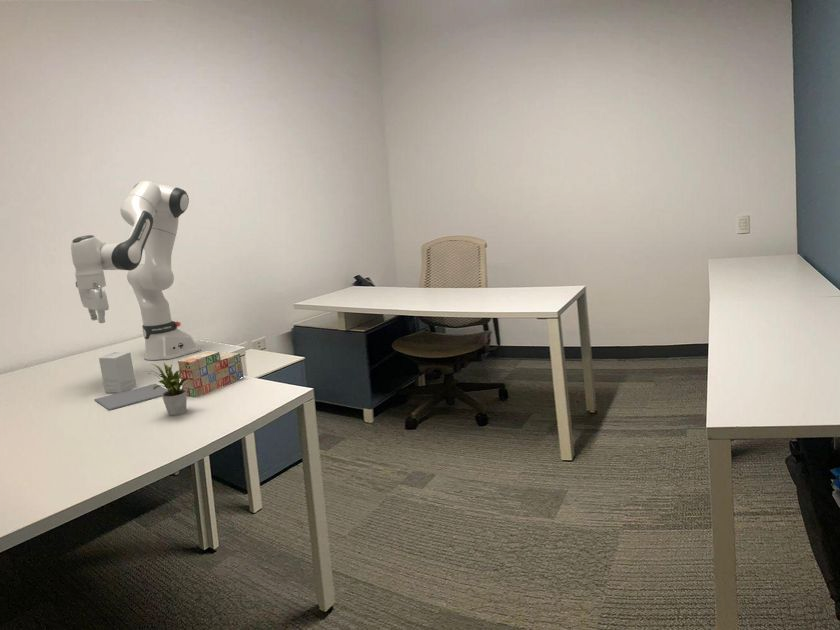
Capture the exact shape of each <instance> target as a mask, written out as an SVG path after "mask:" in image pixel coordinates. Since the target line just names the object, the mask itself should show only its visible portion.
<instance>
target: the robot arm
mask: <svg viewBox="0 0 840 630" xmlns="http://www.w3.org/2000/svg"><path fill="white" fill-rule="evenodd" d="M189 198H190V197H189V194H188V193H187V192H186V191H185V190H184V189H182V188H180V187H174V186H171V185H167V184H163V183H161V184H160V183H155V182H153V181H150V180H142V181H140V182H138V183H136V184H135V185H134V186H133V187H132V189H131V190H130V192H128V194H127V196H125V198H124V200H123V202H122V203H121V206H120V210H119V211H120V215H121V217H122V219H123V220H124V222H126V223H127V224H129V226H130V227H132V228H131V231H130V233H129V235H128V237H127V238H126V239H125V240H123V241H120V242H106V241H102V240H101V239H98V238H97V237H96V236H95V235H91V234H89V235H84V236H83V235H82V236H78V237H75V238H74V239H73V240H72V241H71V245H70V250H71V253H70V254H71V259H72V264H73V265H74V268H75V273H74V274H75V276H74V277H75V287H76V288H77V289H78V294H79V296H80V298H79V299H80V300H81V301H80V302H81V304H82V306H83V307H84V308H86V309H87V311H88V313H89V315H90V320H91V321H98V323H99V324H104V323H106V319H105V318H106V317H105V315H106V312H105V311H109V308H110V307H109V306H110V305H109V302H108V297H107V296H108V295H107V292H106V290H105V289H104V287H106V286H107V284H106V276H105V272H104V271H119V270H120V271H121V270H122V271H127V274H126V278H127V282H128V284H129V285H131V288H132V290H133V292H134V294H135V297H136V299H137V302H138V304H139V309H140V313H141V319H142V335H143V337H144V340H145V341H144V342H145V343H144V344H145V345H144V346H145V349H144V352H145V353H144V359H145V360H146V361H155V360H172V359H175V358H179V357H182V356H185V355H186V356H187V355H189V354H192V353H197V352H200V351H202V348H201V346H199V345H197V344H196V343H195V341H194V339H193V337H192V335H190V334H188V333H186V332H185V331H182V330H180V329H178V328H179V327H180V326H181V322H180V321H173V320H172V315H171V310H170V309H171V308H170V304H169V301H168V300H167V299H166V297H165V296H164V293H163V291H164V290H168V289H169V288H171V287H172V285H173V284H174V280H175V276H174V275H175V274H174V273H173V271H172V254H173V253H172V252H173V249H174V245H175V241H176V237H177V234H178V233H177V232H178V227H179V218H180V216H181V215H182V214H184V213H185V212H186V210H187V209H188V207H189V203H190V199H189ZM143 251H144V257H145V258H144V263H141V261H142V256H143Z"/></svg>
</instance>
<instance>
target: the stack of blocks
mask: <svg viewBox="0 0 840 630" xmlns="http://www.w3.org/2000/svg"><path fill="white" fill-rule="evenodd" d="M220 353H221V352H220V351H214V350H213V351H212V350H211V351H210V350H205V351H202V352H199V353H196V354H193V355H190V356H188V357H185V358H182V359H179V360H177V364H178V370H179V372H180V370H181V367H182V365H183V368H182V371H181V373H180V375H182V374H183V375H182V376H181V379H180V381H181V380H183V379H186V378H191V379H187V380H185V381H184V382H183V384H182V385H181V389H182V388H183V389H185V390H187V397H189V398H190V397H192V398H198V397H201V396H203V395H206V394H209V393H211V392H214V391H216V390H218V389H220V387H221V388H223V387H225V386H228V385H230V384H232V382H233V383H235V382H237V381H236V380H238V381H240V380H241V379H240V378H241V377H243V379H245V378H244V371H243V363H242V357H241V353H239V352H229V351H228V352H225V353H222V354H220ZM191 364H192V365H191ZM190 365H191V366H190ZM188 366H189V367H188ZM187 367H188V368H187ZM186 368H187V369H186ZM185 370H186V371H185ZM184 371H185V372H184ZM183 372H184V373H183ZM239 379H240V380H239ZM191 380H192V381H191ZM188 381H190V382H188ZM234 381H235V382H234ZM187 382H188V383H187ZM186 383H187V384H186ZM229 383H230V384H229ZM227 384H228V385H227ZM183 386H184V387H183ZM222 386H223V387H222Z"/></svg>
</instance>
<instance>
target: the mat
mask: <svg viewBox="0 0 840 630" xmlns="http://www.w3.org/2000/svg"><path fill="white" fill-rule="evenodd" d="M158 385H159V384H157V383H152V385H151V384H147V385H143V386H141V387H135V388H132V389H130V390H127V391H124V392H121V393H112V394H108V395H105V396H102V397H97V398H95V399H94V401H95V402H96V403H97V404H99V405H100V406H101V407H103V408H105V409H107V410H108V411H113V410H117V409H121V408H124V407H127V406H132V405H136V404H138V403H143V402H146V401H151V400H154V399H157V398H161V397H162V394H163V393H165V392H167V391H168V389H167V388H166V387H164V386H162V385H161V386H159V387H157V388H156V389H154V390H153V388H154V387H155V386H158ZM164 390H165V391H164Z"/></svg>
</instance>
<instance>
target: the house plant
mask: <svg viewBox="0 0 840 630" xmlns="http://www.w3.org/2000/svg"><path fill="white" fill-rule="evenodd" d="M173 362H174V361H172V362H171V365H170V366H169V365H167V364H166V363H165V362H163V366H164V371H165V373H164V371H163V370H162V368H161V367H160V366H159V365H156V364H154V363H153V364H151V365H152V366H155V368H157V370H158V371H159V373H158V372H156V371H153V370H151V372H153V375H154V376H156V377H157V378H158V379H159V380H158V383H160V384H162V385H163V388H165V389H168V391H167V392H165V393H163V394H162V400H163V403H164V406H165V409H166V411H167V414H168V415H169V416H179V415H183V414H184V413H186V412H187V405H188V404H187V399H188V398H187V397H188V396H187V390H185V389H183V388H182V384H183V382H184V381H185V380H187V379H191V378H186V379H183V380H181V376H182V375H183V374H182V375H180V373H181V371H182V368H183V365H182V367H181V370H180V372H179V369H178V370H176V371H175V372H174V373H173V371H172V369H173V367H172V366H173ZM191 365H192V364H191ZM191 365H190V366H191ZM188 367H189V366H188ZM188 367H187V368H188ZM187 368H186V369H187ZM185 371H186V370H185ZM185 371H184V372H185ZM142 372H144V371H142ZM184 372H183V373H184ZM148 374H149V375H150V374H151V375H152V373H148ZM157 375H158V376H157ZM191 381H192V380H191ZM188 382H190V381H188ZM188 382H187V383H188ZM187 383H186V384H187ZM152 384H153V383H152ZM152 384H150V385H152ZM157 385H158V386H155V387H154V388H153V390H154V389H156V388H157V387H159V386H161V387H162V385H159V384H157ZM183 387H184V386H183ZM164 391H165V390H164Z"/></svg>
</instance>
